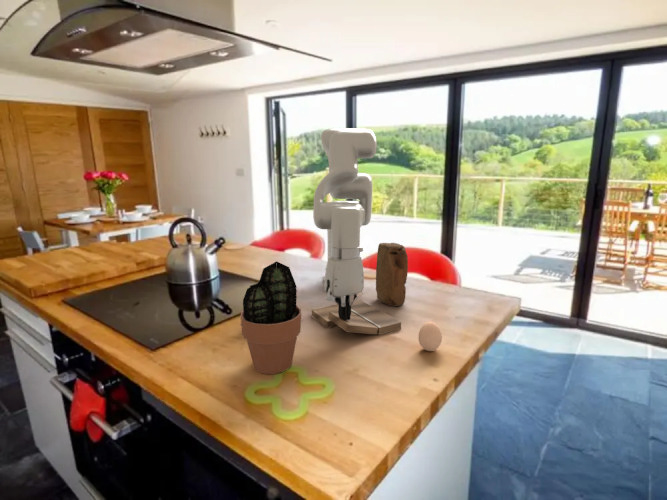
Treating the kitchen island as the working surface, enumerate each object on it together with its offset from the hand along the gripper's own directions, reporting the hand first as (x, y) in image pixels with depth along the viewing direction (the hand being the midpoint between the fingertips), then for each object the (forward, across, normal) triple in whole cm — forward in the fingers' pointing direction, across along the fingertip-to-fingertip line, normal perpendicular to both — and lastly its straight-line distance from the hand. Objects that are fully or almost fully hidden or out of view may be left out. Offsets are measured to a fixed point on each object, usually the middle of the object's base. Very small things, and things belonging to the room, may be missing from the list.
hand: (344, 318), depth 106 cm
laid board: (+4, -12, -6) cm, 14 cm away
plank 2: (+3, -3, -1) cm, 4 cm away
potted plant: (+5, +23, +5) cm, 24 cm away
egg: (+5, -14, +18) cm, 24 cm away
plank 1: (+4, -3, -11) cm, 12 cm away
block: (+4, -27, -14) cm, 31 cm away
